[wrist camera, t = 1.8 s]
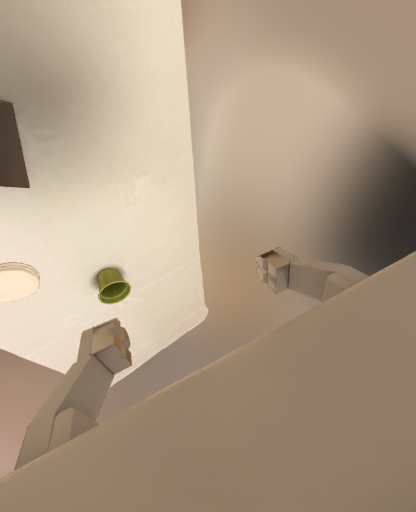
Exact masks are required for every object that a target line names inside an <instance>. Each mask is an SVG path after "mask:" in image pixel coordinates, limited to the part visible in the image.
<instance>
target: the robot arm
mask: <svg viewBox="0 0 416 512" xmlns="http://www.w3.org/2000/svg"><path fill="white" fill-rule="evenodd" d="M256 263H257V264H259V265H258V267H257V273H258V276H259V278H260V279H261V281H263V282H264V283H268V287H269V288H270V289H271V290H272V291H273V292H274V293H276V294H277V293H279V292H281V291H283V290H285V289H287V288H288V289H290V290H293V291H296V292H298V293H301V294H304V295H307V296H310V297H312V298H315V299H318V300H321V304H319V305H317V306H315V307H313V308H311V309H310V310H308V311H306V312H304V313H302V314H300V315H299V316H297V317H295V318H293V319H291V320H289V321H288V322H286V323H284V324H282V325H280V326H278V327H277V328H275V329H273V330H271V331H269V332H268V333H266V334H264V335H262V336H260V337H259V338H257V339H255V340H253V341H251V342H249V343H247V344H246V345H244V346H242V347H240V348H238V349H236V350H235V351H233V352H231V353H229V354H227V355H225V356H224V357H222V358H220V359H218V360H216V361H214V362H213V363H211V364H209V365H207V366H205V367H204V368H202V369H200V370H198V371H196V372H194V373H192V374H191V375H189V376H187V377H185V378H183V379H182V380H180V381H178V382H176V383H174V384H172V385H170V386H169V387H167V388H165V389H163V390H161V391H160V392H158V393H156V394H154V395H152V396H150V397H148V398H147V399H145V400H143V401H141V402H139V403H137V404H136V405H134V406H132V407H130V408H128V409H126V410H125V411H123V412H121V413H119V414H117V415H115V416H114V417H112V418H110V419H108V420H106V421H104V422H103V423H101V424H99V423H97V422H96V421H95V420H96V417H97V415H98V413H99V411H100V408H101V406H102V404H103V401H104V399H105V397H106V394H107V392H108V390H109V387H110V385H111V382H112V380H113V378H114V375H115V374H116V373H118V372H120V371H122V370H124V369H126V368H128V367H130V366H132V361H131V353H130V351H129V350H128V349H129V347H130V339H129V336H128V333H127V331H126V330H125V328H123V327H121V326H120V321H119V320H118V319H117V318H114V319H112V320H109V321H107V322H104V323H102V324H99V325H97V326H95V327H92V328H90V329H88V330H85V331H83V333H82V335H81V341H80V347H79V352H78V358H77V362H76V363H74V364H73V365H72V366H71V368H70V369H69V371H68V372H67V373H66V375H65V376H64V378H63V379H62V380H61V382H60V383H59V384H58V386H57V387H56V389H55V390H54V391H53V393H52V394H51V395H50V397H49V398H48V400H47V401H46V402H45V404H44V405H43V407H42V408H41V409H40V411H39V412H38V414H37V415H36V416H35V418H34V419H33V420H32V422H31V423H30V425H29V426H28V427H27V430H26V434H25V437H24V440H23V443H22V447H21V450H20V453H19V456H18V460H17V463H16V466H15V470H14V471H13V472H11V473H9V474H7V475H5V476H4V477H2V478H0V512H416V252H414V253H412V254H410V255H409V256H407V257H405V258H403V259H401V260H399V261H397V262H396V263H394V264H392V265H390V266H388V267H386V268H385V269H383V270H381V271H379V272H377V273H375V274H374V275H372V276H370V277H369V276H367V275H365V274H363V273H361V272H359V271H357V270H355V269H353V268H351V267H350V266H348V265H342V264H336V263H330V262H323V261H317V260H310V259H303V258H301V259H299V258H297V257H295V256H294V255H292V254H290V253H289V252H287V251H286V250H284V249H282V248H280V247H277V248H275V249H273V250H271V251H269V252H267V253H264V254H262V255H260V256H257V258H256Z"/></svg>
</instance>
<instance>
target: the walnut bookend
mask: <svg viewBox="0 0 416 512" xmlns="http://www.w3.org/2000/svg"><path fill="white" fill-rule="evenodd" d="M0 186H5V187H22V188H30V186H29V181H28V176H27V172H26V167H25V162H24V158H23V153H22V148H21V144H20V139H19V134H18V129H17V125H16V120H15V115H14V111H13V106H12V103H9V102H5V101H1V100H0Z"/></svg>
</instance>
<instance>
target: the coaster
mask: <svg viewBox="0 0 416 512" xmlns="http://www.w3.org/2000/svg"><path fill="white" fill-rule="evenodd" d="M39 286H40V279H39V274H38V272H37V271H36V270H35V269H34V268H32V267H30V266H28V265H25V264H20V263H7V264H1V265H0V302H12V301H18V300H22V299H25V298H27V297H29V296H31V295H33V294H34V293H35V292H36V291H37V290H38V288H39Z"/></svg>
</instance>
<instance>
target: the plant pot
mask: <svg viewBox="0 0 416 512" xmlns="http://www.w3.org/2000/svg"><path fill="white" fill-rule="evenodd" d="M98 284H99V294H98V299H99V301H100V302H102V303H104V304H115V303H118V302H120V301H122V300H124V299H125V298H126V297H127V296H128V295H129V294H130V292H131V285H130V284H129V283H128V282H126V281H125V280H124V279H123V278H122V277H121V275H120V274H119V273H118V271H117V270H116V269H113V268H108V269H105V270H102V271H101V272H100V273H99V274H98Z"/></svg>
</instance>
